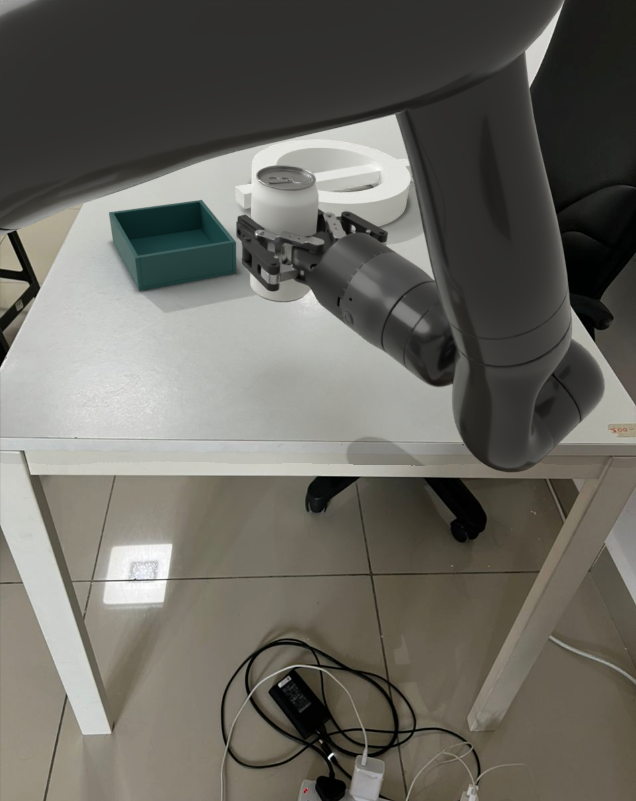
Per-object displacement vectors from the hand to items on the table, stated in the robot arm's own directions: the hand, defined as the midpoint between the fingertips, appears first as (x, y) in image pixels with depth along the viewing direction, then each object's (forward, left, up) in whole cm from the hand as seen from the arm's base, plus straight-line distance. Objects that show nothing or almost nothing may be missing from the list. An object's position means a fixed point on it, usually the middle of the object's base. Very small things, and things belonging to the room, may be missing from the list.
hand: (270, 217), depth 65 cm
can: (0, -2, -7) cm, 8 cm away
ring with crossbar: (+31, +42, -20) cm, 55 cm away
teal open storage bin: (-2, +29, -19) cm, 35 cm away
